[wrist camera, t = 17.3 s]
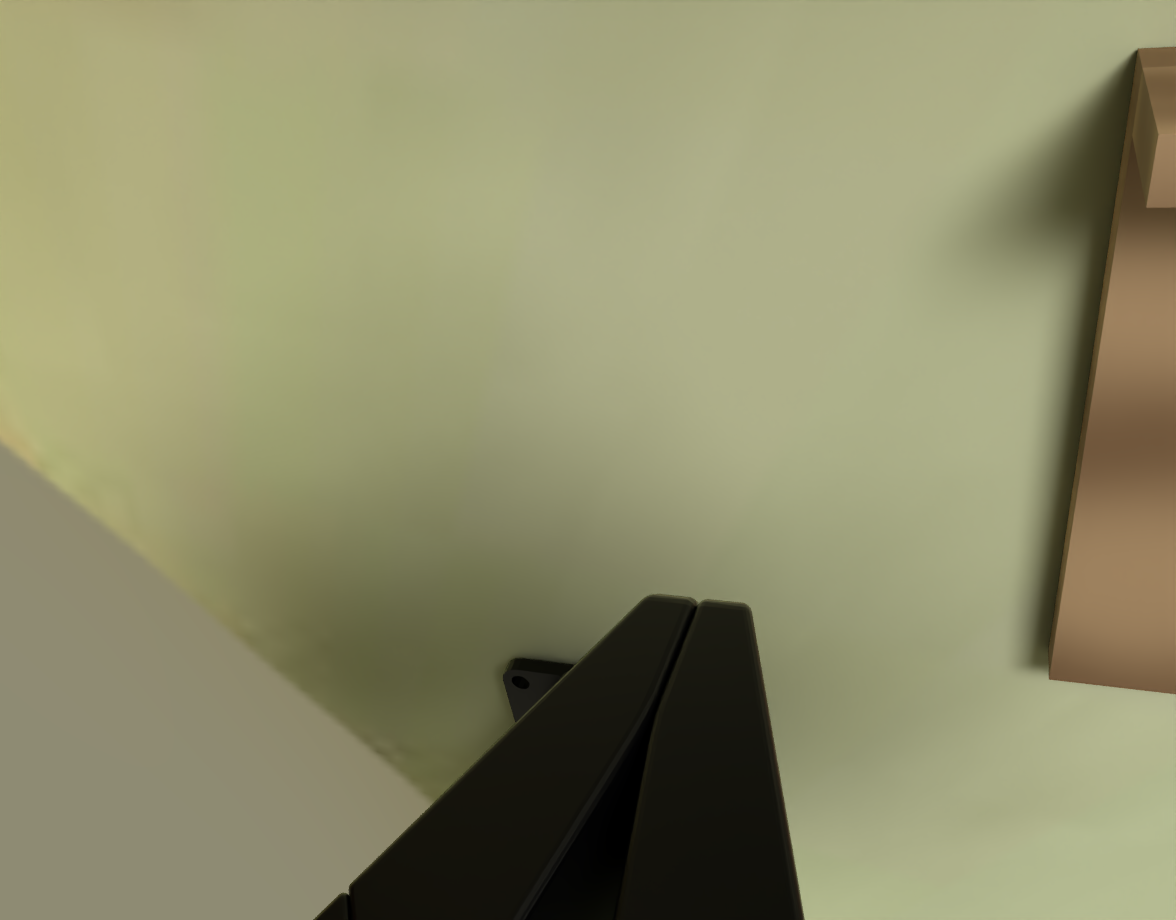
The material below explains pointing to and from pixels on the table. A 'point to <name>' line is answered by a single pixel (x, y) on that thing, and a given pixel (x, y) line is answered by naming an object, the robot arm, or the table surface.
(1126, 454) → the shelf
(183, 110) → the table surface
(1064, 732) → the table surface
